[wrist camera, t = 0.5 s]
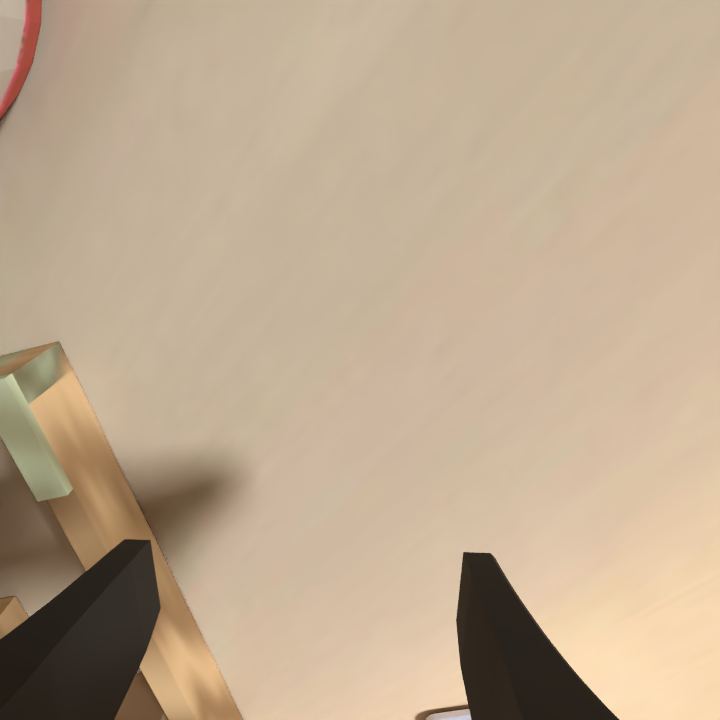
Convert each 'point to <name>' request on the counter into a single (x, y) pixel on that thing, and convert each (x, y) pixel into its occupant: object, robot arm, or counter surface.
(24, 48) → the citrus juicer
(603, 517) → the counter surface
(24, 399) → the trap lane
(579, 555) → the counter surface
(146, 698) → the walnut block
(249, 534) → the counter surface
